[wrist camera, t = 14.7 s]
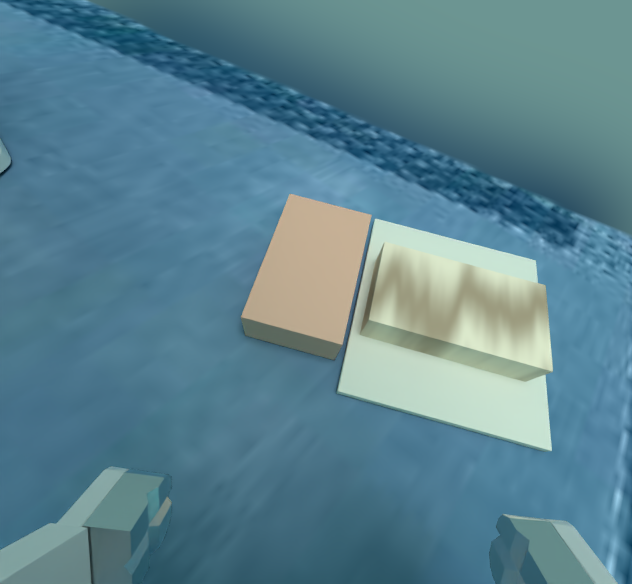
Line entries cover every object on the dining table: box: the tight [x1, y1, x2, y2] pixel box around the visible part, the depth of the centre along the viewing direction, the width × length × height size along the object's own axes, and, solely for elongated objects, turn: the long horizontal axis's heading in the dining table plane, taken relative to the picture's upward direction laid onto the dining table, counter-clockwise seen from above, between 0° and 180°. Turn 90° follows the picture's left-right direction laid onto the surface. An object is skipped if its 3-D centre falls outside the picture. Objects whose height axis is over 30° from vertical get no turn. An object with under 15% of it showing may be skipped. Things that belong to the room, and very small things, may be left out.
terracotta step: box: [241, 194, 371, 360], centre depth 23 cm, size 10×6×3 cm, turn 166°
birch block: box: [360, 242, 553, 382], centre depth 22 cm, size 6×2×11 cm
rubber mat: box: [337, 219, 552, 451], centre depth 24 cm, size 14×13×1 cm
